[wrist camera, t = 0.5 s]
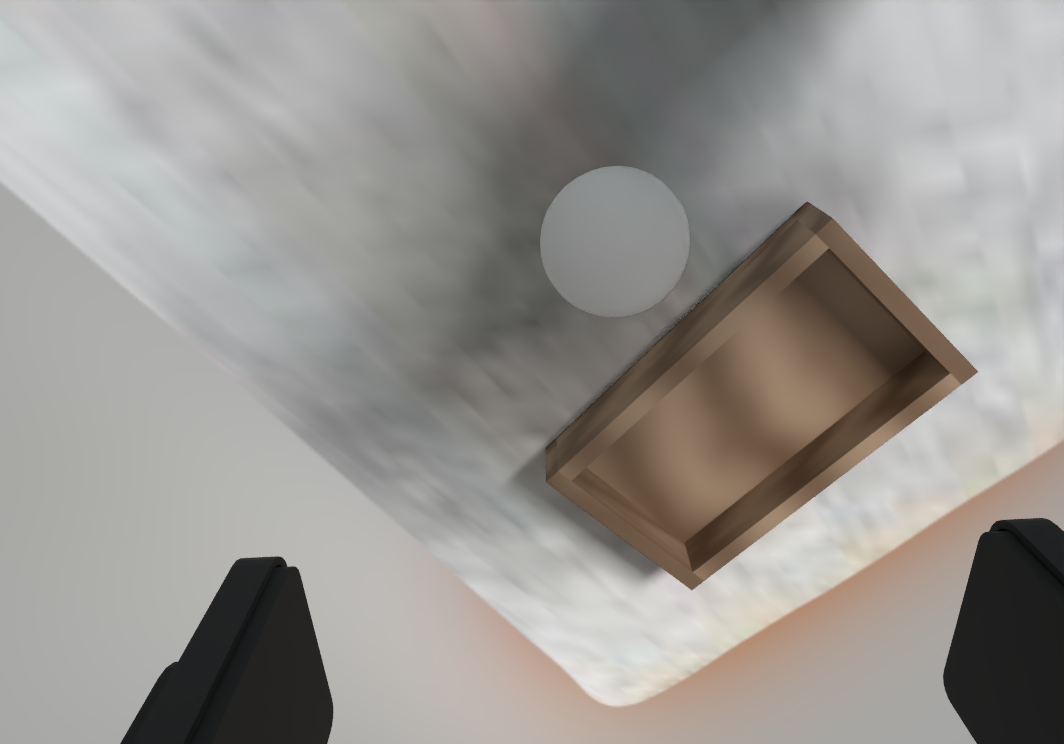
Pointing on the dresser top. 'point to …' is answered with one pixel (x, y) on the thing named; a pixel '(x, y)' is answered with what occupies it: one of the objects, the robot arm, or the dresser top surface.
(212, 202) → the dresser top surface
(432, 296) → the dresser top surface
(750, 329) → the walnut tray
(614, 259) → the lightbulb
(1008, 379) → the dresser top surface
